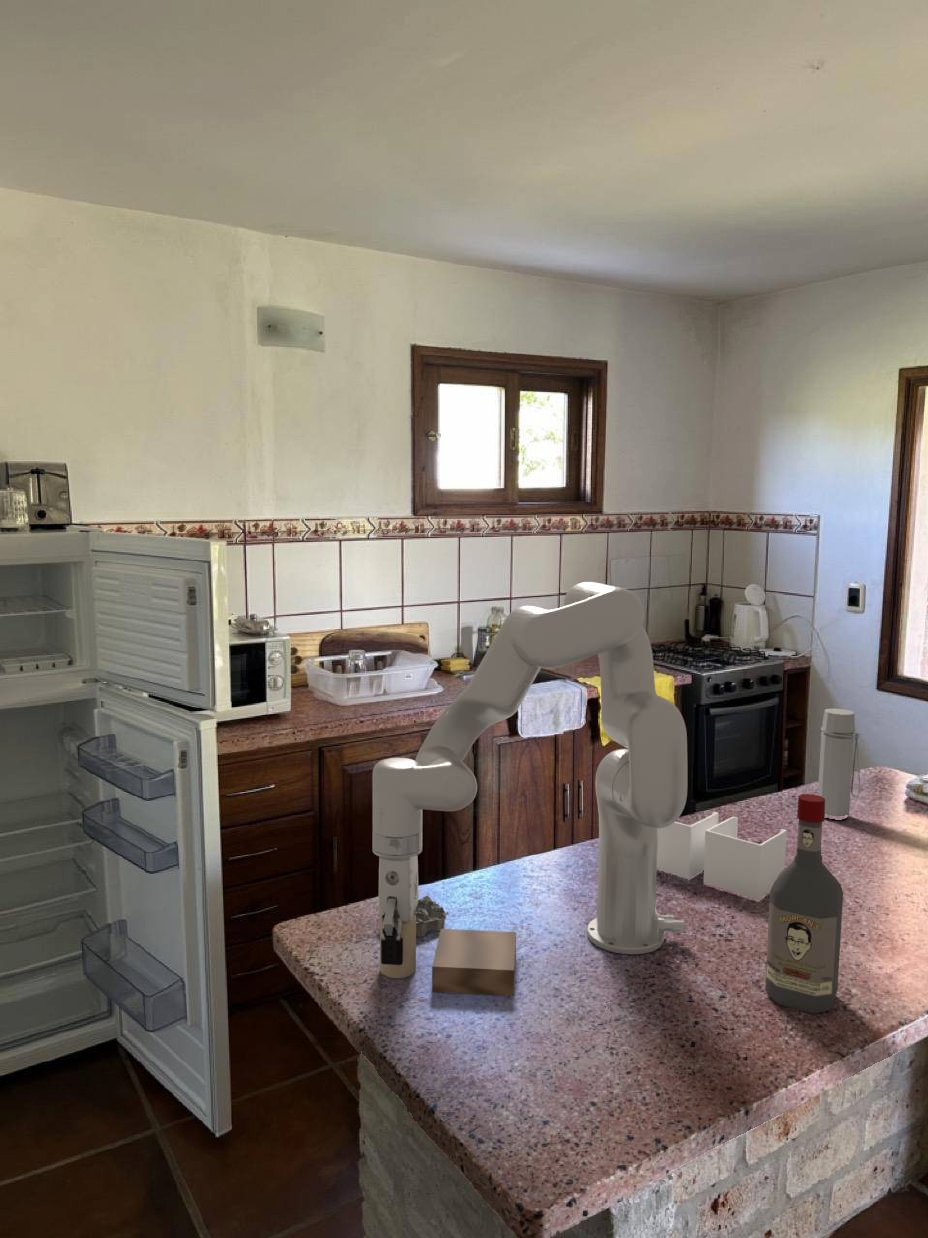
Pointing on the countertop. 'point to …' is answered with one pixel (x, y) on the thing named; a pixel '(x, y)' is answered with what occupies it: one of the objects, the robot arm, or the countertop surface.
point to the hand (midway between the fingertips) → (397, 948)
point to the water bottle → (837, 761)
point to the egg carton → (428, 923)
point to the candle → (408, 951)
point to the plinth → (474, 962)
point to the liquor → (805, 921)
